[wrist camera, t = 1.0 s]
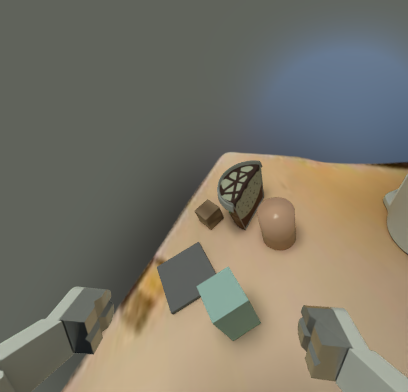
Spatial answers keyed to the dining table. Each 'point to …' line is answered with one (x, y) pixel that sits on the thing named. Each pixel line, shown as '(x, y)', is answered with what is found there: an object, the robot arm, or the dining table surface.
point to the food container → (241, 191)
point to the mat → (184, 276)
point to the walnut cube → (209, 214)
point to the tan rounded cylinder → (277, 223)
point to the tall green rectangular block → (228, 304)
